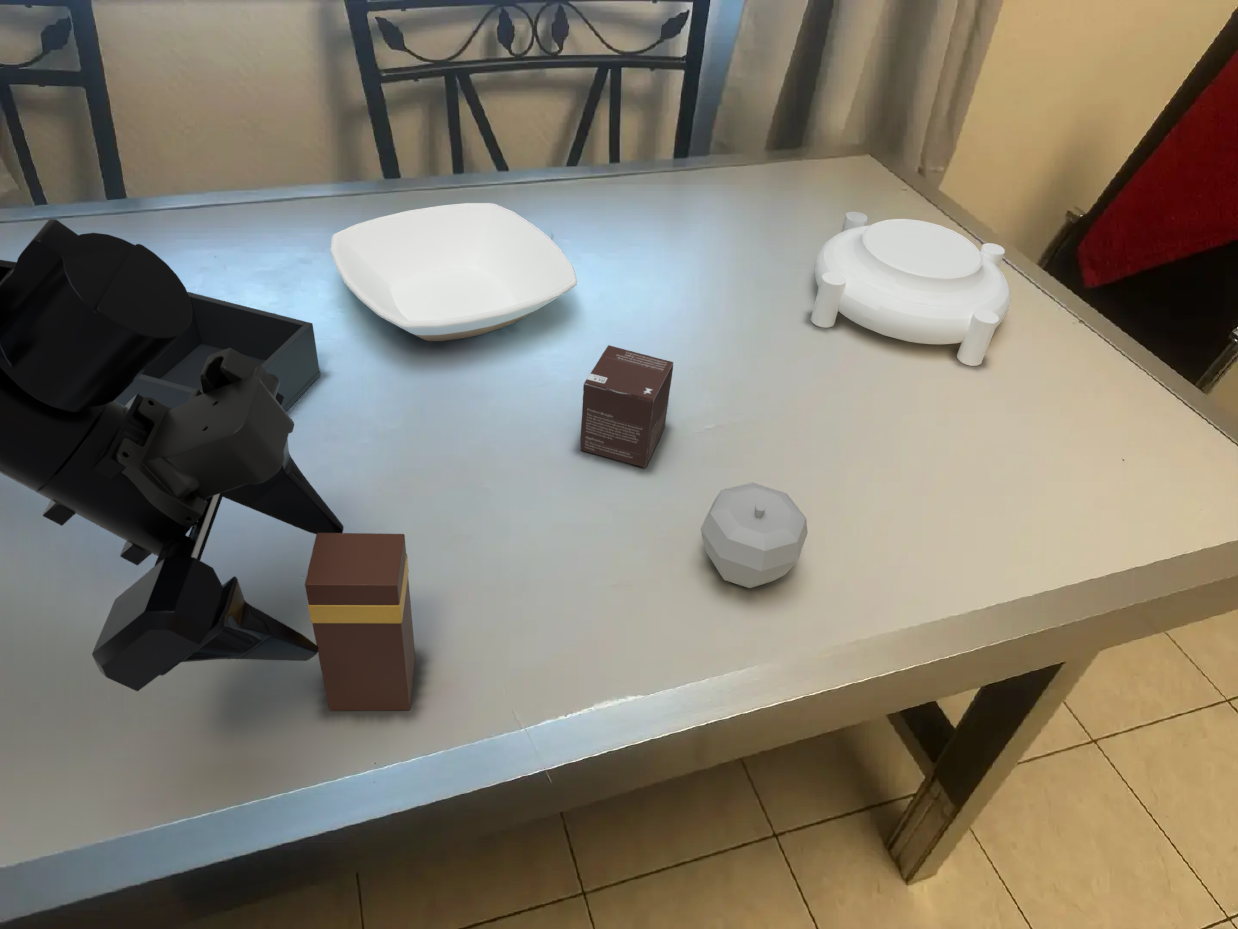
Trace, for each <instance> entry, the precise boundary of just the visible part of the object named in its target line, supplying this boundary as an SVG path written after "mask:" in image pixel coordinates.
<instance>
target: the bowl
mask: <svg viewBox="0 0 1238 929" xmlns="http://www.w3.org/2000/svg"><path fill="white" fill-rule="evenodd" d="M330 239H331V240H330V251H329V252H330V255H331V258H332V260H333V264H334V265H335V268H336V271H337V273H338V274H339V276H340V277H341V279H342V281H343V282H344V285H345V286H346V287H347V288H348V289H349V291H351V292H352V293H353V294H354V295H355V296H356V297H357V299H359V300H360V302H362V303H363V304H364V305H365V306H367V307H368V308H369V309H370V310H371V311H372V312H373V313H375V314H376V315H377V316H378V317H380V318H382V319H384V320H385V321H388V322H389V323H391V324H393V325H395V326H396V327H399V328H400V329H402V330H404V331H406V332H408V333H410V334H412V335H414V336H415V337H418V338H419V339H421V340H424V341H426V342H445V341H453V340H454V341H455V340H460V339H461V340H462V339H467V338H468V339H469V338H472V337H476V336H481V335H486V334H488V333H492V332H494V331H495V332H496V331H498V330H500V329H502V328H503V329H504V328H505V327H507V326H510V325H512V324H514V323H517V322H519V321H520V320H522V319H524V318H526V317H527V316H529V315H530V314H532V313H534V312H536V311H538V310H539V309H542V308H543V307H545V306H546V305H548V304H549V303H551V302H552V301H554V300H556V299H558V298H559V297H561V296H563V295H564V294H566V293H568V292H569V291H571V290H573V289H574V288H575V287H577V284H578V278H577V276H576V275H577V274H576V272H575V267H574V265H573V264H572V262H570V260H569V259H568V257H567V255H566V254H565V253H564V252H563V251H562V249H561V248H560V247H559V246H558V245H557V244H556V243H555V241H554V240H553V239H551V237H550V236H548V235H547V234H546V233H544V232H543V231H542V230H541V229H539V228H538V227H537V226H535V225H534V224H533V223H532V222H530V221H529V220H527V219H526V218H524V217H523V216H521V215H519V214H518V213H517V212H515V211H513V210H510V209H508V208H506V207H504V206H501V205H500V204H496V203H493V202H464V203H454V204H453V203H452V204H445V205H444V204H443V205H436V206H430V207H429V206H428V207H422V208H416V209H409V210H405V211H401V212H397V213H396V212H395V213H392V214H388V215H383V216H379V217H376V218H371V219H369V220H366V221H362V222H358V223H355V224H353V225H351V226H349V227H347V228H344V229H342V230H340V231H338V232H335V233H333V234H332V235H331V238H330Z"/></svg>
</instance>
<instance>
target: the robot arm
mask: <svg viewBox="0 0 1238 929" xmlns="http://www.w3.org/2000/svg"><path fill="white" fill-rule="evenodd" d="M187 292H188V291H187V288H186V286H185V285H184V283H183V281H182V280H181V279H180V277H179V275H177V273H176V272H175V271H174V270H173V269H172V267H170V265H168V263H166V262H165V261H164V260H163V259H162V258H161V257H160V256H158V255H157V254H156V253H155V252H154V251H152V250H150V249H149V248H147V247H146V246H145V245H143V244H141V243H136V244H134V243H132V242H129V241H127V240H125V239H124V238H121V237H117V236H115V235H111V234H107V233H100V232H99V233H98V232H88V233H81V234H77V233H76V232H75V231H73V230H72V229H71V228H69V227H68V226H66V225H65V224H64V223H62V222H61V221H59V220H58V219H54V218H53V219H52V218H49V219H48V220H47V221H46V222H45V223H44V225H43V226H42V227H41V228H40V229H39V230H38V232H37V233H36V234H35V235H34V237H33V238H32V239H31V240H30V242H29V243H28V244H27V246H26V247H25V248H24V249H23V250H22V251H21V253H20V255H19V256H18V257H17V260H16V261H11V260H5V259H0V474H2V475H4V476H5V477H7V478H9V479H11V480H13V481H15V482H16V483H19V484H20V485H22V486H24V487H26V488H27V489H29V490H31V491H34V492H35V493H37V494H39V495H41V496H43V497H44V498H46V499H48V500H50V501H49V503H48V505H47V507H46V509H45V510H44V512H43V514H42V517H44V518H46V519H48V520H50V521H52V522H53V523H56V524H58V525H59V526H61V527H63V526H64V525H65V524H66V523H67V522H68V521H69V520H70V519H72V518H73V517H74V516H75V515H78V516H80V517H81V518H84V519H85V520H87V521H89V522H91V523H93V524H94V525H96V526H98V527H100V528H101V529H104V530H106V531H108V532H109V533H111V534H113V535H115V536H116V537H118V538H121V539H123V540H124V541H125V544H124V545H123V548H122V550H121V552H120V554H119V557H120V558H122V559H124V560H126V561H128V562H130V563H132V564H133V565H135V566H139V565H141V563H143V561H145V560H146V559H147V558H148V557H149V556H151V555H154V556H156V557H157V558H156V560H155V564H154V565H153V567H152V568H151V569H150V570H149V571H147V572H146V573H145V574H143V575H142V576H141V577H140V578H139V579H138V580H136V581H135V582H134V583H133V584H132V585H130V586H129V587H128V588H127V589H126V590H124V591H123V592H122V593H121V594H120V595H118V596H117V597H116V598H115V599H114V602H113V603H112V606H111V608H110V611H109V613H108V615H107V618H106V620H105V622H104V625H103V627H102V629H101V631H100V634H99V637H98V638H97V641H96V643H95V645H94V647H93V650H92V652H91V655H92V658H93V660H94V662H95V664H96V667H97V668H98V671H99V672H100V673H101V674H102V675H103V676H104V677H105V678H106V679H109V680H111V681H113V682H115V683H118V684H120V685H122V686H125V687H126V688H129V689H131V690H133V691H135V692H139V691H141V690H142V689H143V688H145V687H146V686H147V685H148V684H150V683H151V682H152V681H154V680H155V679H156V678H158V677H159V676H161V677H163V676H165V675H166V674H168V673H170V671H172V670H173V669H174V668H176V667H177V666H178V665H180V664H181V663H189V662H191V663H192V662H203V661H216V660H252V661H255V660H256V661H290V662H291V661H292V662H293V661H295V662H306V661H309V660H311V659H312V658H313V657H315V656H317V655H318V649H319V648H318V646H317V645H316V643H314V642H313V641H312V640H310V639H309V638H308V637H306V636H305V635H303V634H302V633H300V632H299V631H297V630H296V629H294V628H292V627H290V626H289V625H286V624H285V623H283V622H281V621H280V620H278V619H276V618H274V617H273V616H271V615H269V614H268V613H266V612H264V611H262V610H261V609H259V608H257V607H255V606H253V605H251V604H249V603H248V602H247V601H246V599H245V596H244V593H243V591H242V588H241V584H240V582H239V579H238V578H237V577H236V576H235V575H234V576H232V577H231V578H230V579H229V580H227V581H226V582H225V583H224V584H222V583H221V581H220V579H219V577H218V575H217V572H216V571H215V568H214V567H212V566H210V565H208V564H207V563H205V562H203V561H202V560H201V559H202V556H203V553H204V550H205V548H206V545H207V542H208V539H209V536H210V534H211V531H212V527H213V525H214V522H215V519H216V516H217V514H218V511H219V508H220V505H221V502H222V500H223V498H225V499H227V500H230V501H232V502H234V503H236V504H239V505H241V506H243V507H246V508H248V509H252V510H253V511H256V512H259V513H261V514H264V515H266V516H268V517H271V518H273V519H276V520H278V521H281V522H283V523H286V524H288V525H291V526H293V527H295V528H297V529H300V530H303V531H304V532H307V533H311V534H313V535H315V536H316V535H317V533H344V530H345V526H344V525H343V524H342V522H341V521H340V520H339V518H338V517H337V516H336V515H335V513H334V512H333V511H332V510H331V508H330V507H329V506H328V505H327V503H326V502H325V501H324V499H323V498H322V497H321V495H320V494H319V493H318V492H317V490H316V489H315V488H314V486H312V485H311V483H310V482H309V480H308V479H307V478H306V477H305V475H304V474H303V472H302V471H301V469H300V468H299V467H298V465H297V464H296V462H295V461H294V459H293V457H292V456H291V454H290V449H289V440H288V439H289V435H290V434H291V433H293V431H294V429H295V422H294V420H292V418H291V416H289V414H288V413H287V411H286V412H285V410H284V409H283V408H282V407H281V406H282V402H283V399H284V396H282V395H281V394H279V393H278V392H277V391H278V388H279V385H280V380H279V378H278V377H277V376H276V375H273V374H267V373H266V371H265V370H264V369H263V367H262V366H261V365H259V364H258V363H256V362H255V361H253V360H251V359H249V358H248V357H246V356H244V355H242V354H241V353H239V352H237V351H235V350H234V349H232V348H228V349H225V350H222V351H220V352H217V353H214V354H212V355H210V356H209V357H208V358H207V361H206V363H205V365H204V367H203V370H202V372H201V374H200V381H201V386H202V390H203V393H202V392H201V391H200V390H199V389H197V390H194V391H193V392H192V394H191V396H190V398H189V401H188V402H186V403H185V404H183V405H180V406H178V407H176V408H174V409H173V408H170V407H168V406H165V405H163V404H161V403H160V402H158V401H157V400H155V399H153V398H152V397H145V398H144V397H142V396H141V395H139V394H137V395H135V396H134V397H133V398H132V399H131V400H130V401H129V402H128V403H127V404H126V405H125V406H124V405H122V404H120V403H119V402H117V401H115V399H116V398H117V397H118V396H119V395H120V394H121V393H122V392H124V391H125V390H126V389H127V388H128V387H129V386H130V385H131V384H132V383H133V382H134V381H135V380H136V379H137V378H138V377H139V376H140V375H141V374H142V373H143V372H144V371H145V370H146V369H147V368H148V367H149V366H150V365H151V364H152V363H153V362H154V361H155V360H156V359H157V358H158V357H159V356H160V355H161V354H162V353H163V352H164V351H165V350H166V349H167V348H168V347H169V346H170V345H171V344H172V343H173V342H174V341H175V340H176V339H177V338H178V337H179V336H180V335H181V334H182V333H183V332H184V331H185V330H186V329H187V328H188V327H189V326H190V324H191V321H192V314H193V309H192V304H191V299H190V297H189V295H188V293H187ZM187 533H189V534H188V535H187Z"/></svg>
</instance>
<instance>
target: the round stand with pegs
mask: <svg viewBox="0 0 1238 929" xmlns="http://www.w3.org/2000/svg"><path fill="white" fill-rule="evenodd" d="M844 216H845V217H844V220H843V223H842V227H841V231H840V232H839V233H837V234H835V235H834V236H833V237H831V238H829V239H828V240H827V241H826V242H825V243H824V244H823V245H822V246H821V248H820V250H819V251H818V253H817V256H816V259H815V263H814V276H815V282H816V285H817V287H818V290H817V293H816V297H815V300H814V301H815V302H814V305H813V309H812V313H811V316H810V322H811V323H812V324H813V325H815V326H817V327H819V328H823V329H827V328H831V327H833V326H835V323H836V320H837V316H838V312H839V313H840V314H841V315H843V316H844V317H845V318H847V319H849V320H850V321H852V323H855V324H857V325H859V326H861V327H863V328H865V329H868V330H870V331H872V332H875V333H878V334H879V335H882V336H885V337H889V338H894V339H897V340H901V341H905V342H908V343H909V342H910V343H916V344H923V345H924V344H925V345H951V344H960V346H959V348H958V352H957V354H956V358H957V360H958V361H959V362H960V363H961V364H964V365H967V366H969V367H976V366H980V365H981V364H982V362H983V360H984V358H985V355H986V353H987V350H988V349H989V346H990V344H991V341H992V338H993V335H994V334H995V331H996V328H997V327H998V326H999V325H1000V324H1001V323H1002V322H1003V321H1004V319H1005V318H1006V316H1007V314H1008V312H1009V309H1010V306H1011V305H1010V304H1011V301H1012V300H1011V299H1012V298H1011V288H1010V286H1009V283H1008V280H1007V278H1006V277H1005V275H1004V273H1003V272H1002V270H1001V269H1000V266H1001V263H1002V262H1003V258H1004V257H1005V256H1004V255H1005V253H1006V250H1005V248H1004V247H1002V246H1001V245H1000V244H996V243H992V242H986V243H983V244H982V245H981V247H980V249H979V248H978V247H977V246H976V245H975V244H974V243H973V242H972V241H971V240H969V239H968V238H967V237H965V236H963V235H962V234H960V233H958V231H957V232H956V231H955V230H953V229H950V228H948V227H945V226H943V225H939V224H937V223H933V222H929V221H924V220H920V219H919V220H917V219H909V218H894V219H893V218H892V219H886V220H881V221H880V220H879V221H877V222H874V223H872V224H869V225H867V224H868V219H869V218H868V216H867V215H866V214H864V213H863V212H861V211H847V212H846V213H845V215H844Z"/></svg>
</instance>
